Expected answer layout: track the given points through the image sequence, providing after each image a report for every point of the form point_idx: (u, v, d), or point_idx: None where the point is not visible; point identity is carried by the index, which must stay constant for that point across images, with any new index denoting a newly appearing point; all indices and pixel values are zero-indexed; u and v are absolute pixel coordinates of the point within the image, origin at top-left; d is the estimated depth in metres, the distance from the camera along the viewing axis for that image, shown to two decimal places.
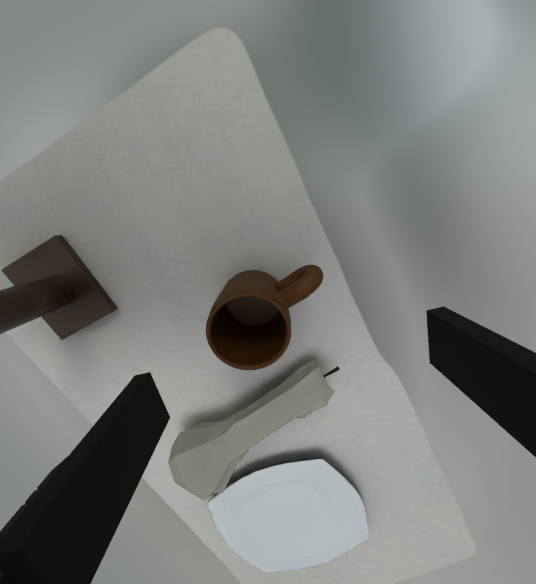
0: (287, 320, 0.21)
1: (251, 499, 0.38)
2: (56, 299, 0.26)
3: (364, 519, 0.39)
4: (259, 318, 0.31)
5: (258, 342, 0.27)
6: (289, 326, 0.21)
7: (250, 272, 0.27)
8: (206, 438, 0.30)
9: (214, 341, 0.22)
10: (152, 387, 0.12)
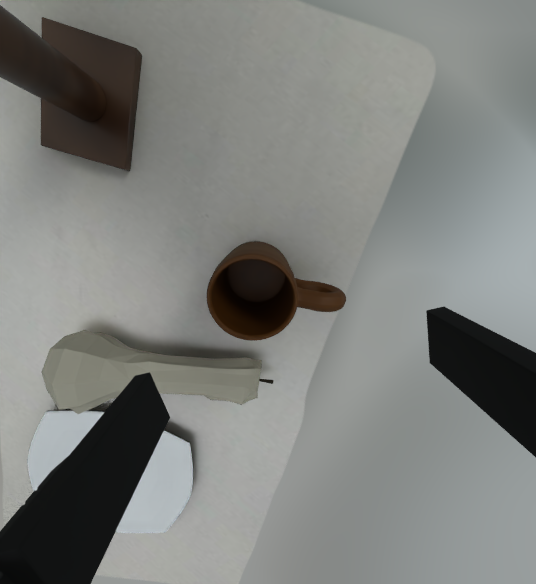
0: (292, 316, 0.20)
1: None
2: (83, 105, 0.21)
3: (177, 514, 0.38)
4: (246, 292, 0.29)
5: (237, 311, 0.25)
6: (288, 322, 0.20)
7: (279, 251, 0.26)
8: (109, 355, 0.26)
9: (214, 281, 0.20)
10: (152, 387, 0.12)
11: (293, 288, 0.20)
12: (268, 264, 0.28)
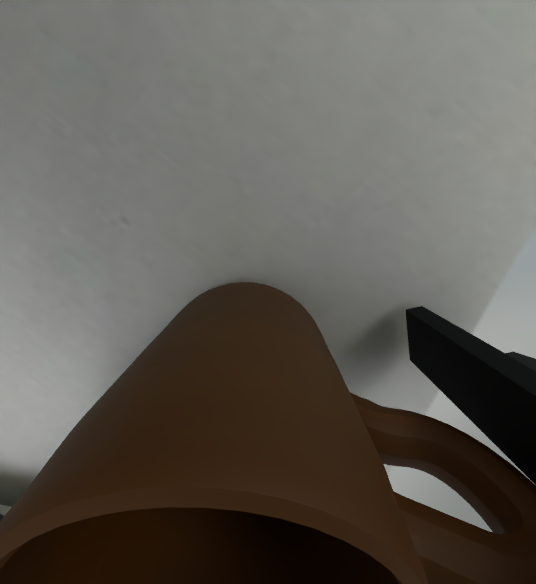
0: None
1: None
2: None
3: None
4: None
5: None
6: None
7: (302, 312, 0.10)
8: None
9: None
10: None
11: None
12: None
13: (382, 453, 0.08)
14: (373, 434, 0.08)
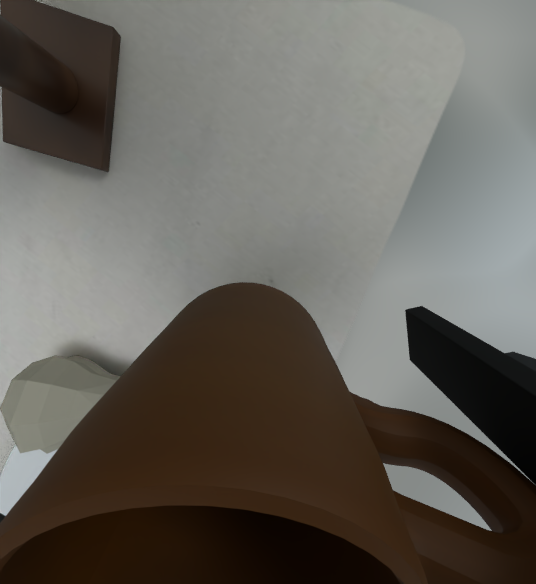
0: None
1: None
2: (46, 92, 0.17)
3: None
4: None
5: None
6: None
7: (302, 312, 0.10)
8: (83, 386, 0.23)
9: None
10: None
11: None
12: None
13: (382, 452, 0.08)
14: (373, 434, 0.08)
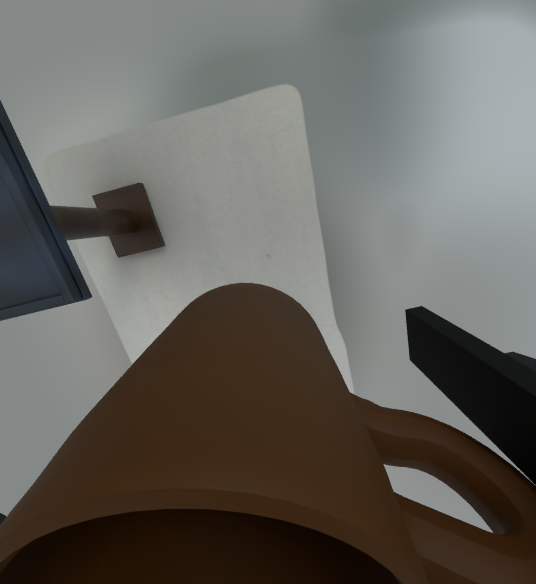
0: None
1: None
2: (131, 226, 0.38)
3: None
4: None
5: None
6: None
7: (303, 312, 0.10)
8: None
9: None
10: None
11: None
12: None
13: (382, 454, 0.08)
14: (373, 435, 0.08)
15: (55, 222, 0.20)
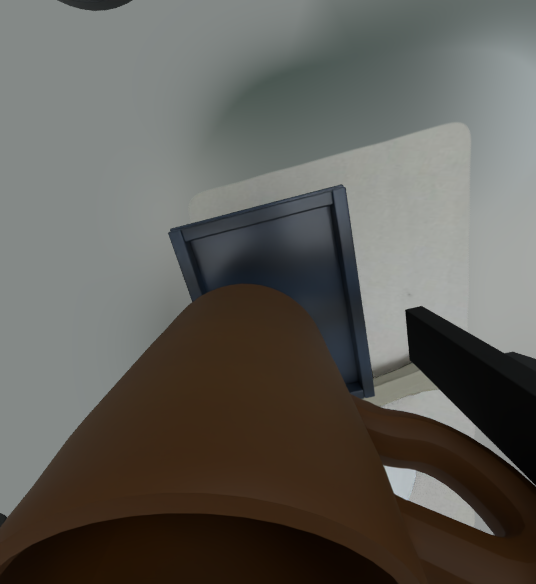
0: None
1: None
2: None
3: (412, 484, 0.51)
4: None
5: None
6: None
7: (303, 313, 0.10)
8: None
9: None
10: None
11: None
12: None
13: (383, 455, 0.08)
14: (374, 436, 0.08)
15: None
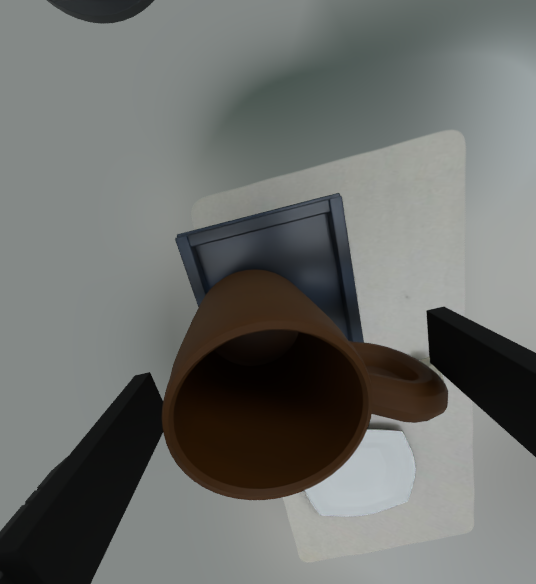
0: (357, 444, 0.09)
1: None
2: None
3: (411, 485, 0.51)
4: (236, 351, 0.18)
5: (226, 403, 0.13)
6: (349, 455, 0.09)
7: None
8: None
9: None
10: (152, 387, 0.12)
11: (365, 388, 0.09)
12: None
13: None
14: None
15: None
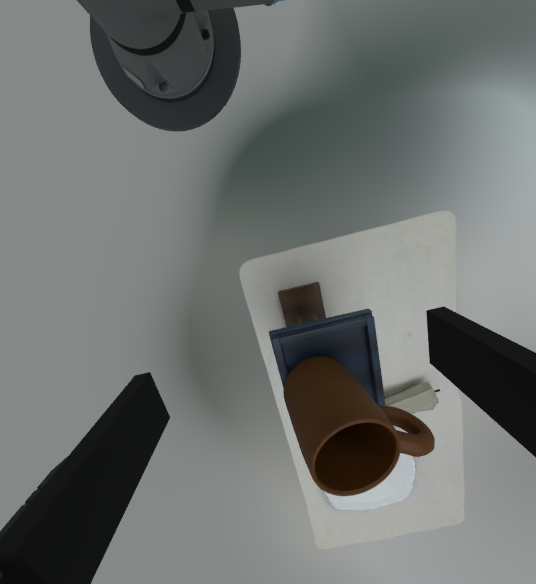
0: (392, 468, 0.20)
1: None
2: None
3: (412, 484, 0.62)
4: None
5: None
6: (388, 473, 0.20)
7: (347, 370, 0.25)
8: None
9: None
10: (152, 387, 0.12)
11: (397, 443, 0.19)
12: None
13: None
14: None
15: None
